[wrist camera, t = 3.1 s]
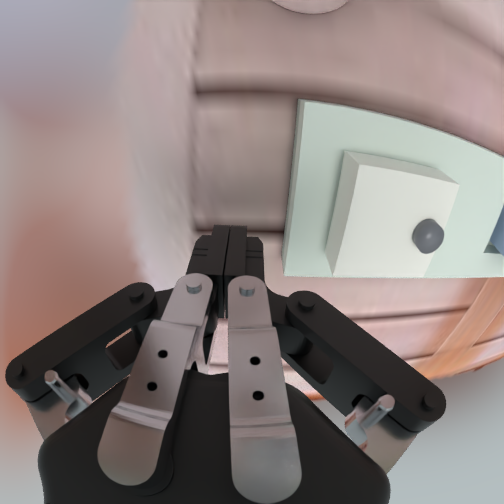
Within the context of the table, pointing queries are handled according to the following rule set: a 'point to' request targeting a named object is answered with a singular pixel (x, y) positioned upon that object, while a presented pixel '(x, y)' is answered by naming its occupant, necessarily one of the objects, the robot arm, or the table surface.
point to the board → (400, 148)
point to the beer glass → (311, 5)
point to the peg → (499, 233)
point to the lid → (387, 217)
